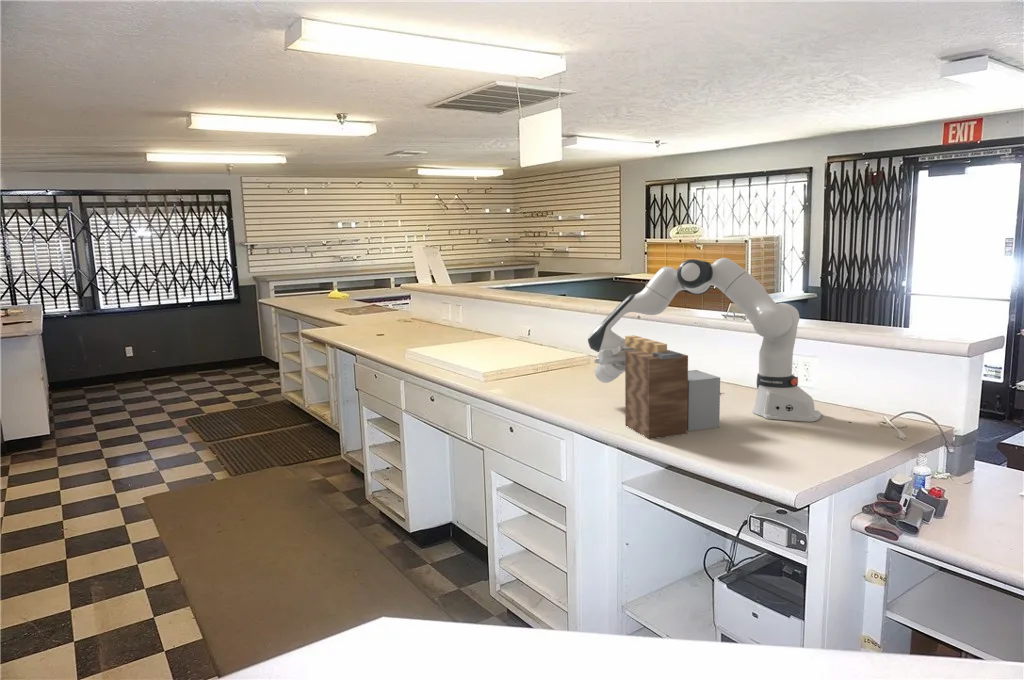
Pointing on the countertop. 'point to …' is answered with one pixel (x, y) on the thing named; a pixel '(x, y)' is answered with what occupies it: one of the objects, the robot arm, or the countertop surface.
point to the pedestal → (656, 394)
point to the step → (703, 401)
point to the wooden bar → (651, 347)
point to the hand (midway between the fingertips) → (634, 346)
